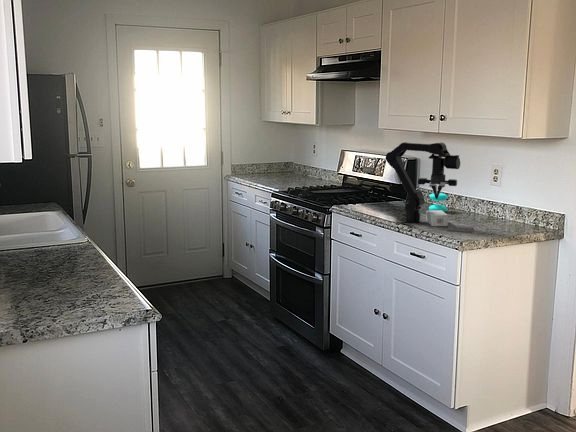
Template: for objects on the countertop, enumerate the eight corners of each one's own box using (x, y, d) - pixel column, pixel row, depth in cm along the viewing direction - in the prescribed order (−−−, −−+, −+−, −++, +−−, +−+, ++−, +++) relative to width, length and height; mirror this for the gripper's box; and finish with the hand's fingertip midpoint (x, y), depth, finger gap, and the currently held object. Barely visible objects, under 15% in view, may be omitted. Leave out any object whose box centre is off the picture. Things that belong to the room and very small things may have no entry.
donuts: (427, 192, 347) (445, 192, 347) (426, 209, 349) (444, 210, 349) (432, 195, 337) (449, 195, 337) (431, 212, 339) (448, 212, 339)
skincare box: (432, 215, 298) (425, 209, 312) (431, 227, 299) (425, 221, 313) (449, 214, 297) (441, 209, 312) (448, 226, 299) (441, 220, 313)
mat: (447, 230, 288) (447, 229, 288) (450, 225, 301) (450, 224, 301) (470, 232, 284) (470, 231, 284) (473, 227, 297) (473, 226, 297)
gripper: (416, 168, 295) (415, 200, 298) (455, 170, 289) (454, 202, 292) (420, 166, 306) (418, 197, 308) (458, 168, 299) (456, 199, 302)
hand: (436, 198), depth 302 cm, fingers closed
